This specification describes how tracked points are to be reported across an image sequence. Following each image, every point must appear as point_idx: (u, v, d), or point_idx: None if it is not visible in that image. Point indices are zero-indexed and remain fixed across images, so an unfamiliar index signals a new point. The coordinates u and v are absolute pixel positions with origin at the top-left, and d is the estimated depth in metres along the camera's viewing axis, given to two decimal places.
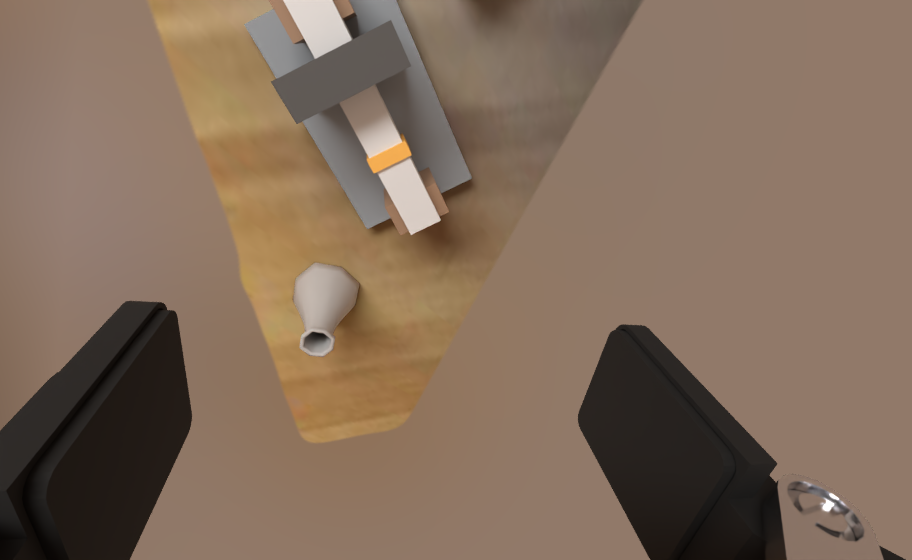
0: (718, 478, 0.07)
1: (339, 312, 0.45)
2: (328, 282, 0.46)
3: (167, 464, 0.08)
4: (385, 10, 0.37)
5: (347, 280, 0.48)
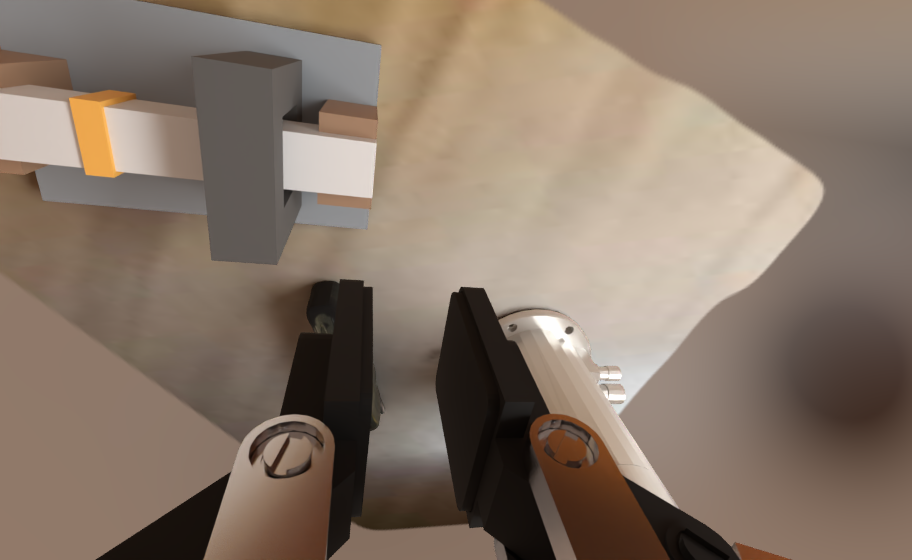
0: (487, 418, 0.07)
1: None
2: None
3: None
4: (315, 209, 0.31)
5: None
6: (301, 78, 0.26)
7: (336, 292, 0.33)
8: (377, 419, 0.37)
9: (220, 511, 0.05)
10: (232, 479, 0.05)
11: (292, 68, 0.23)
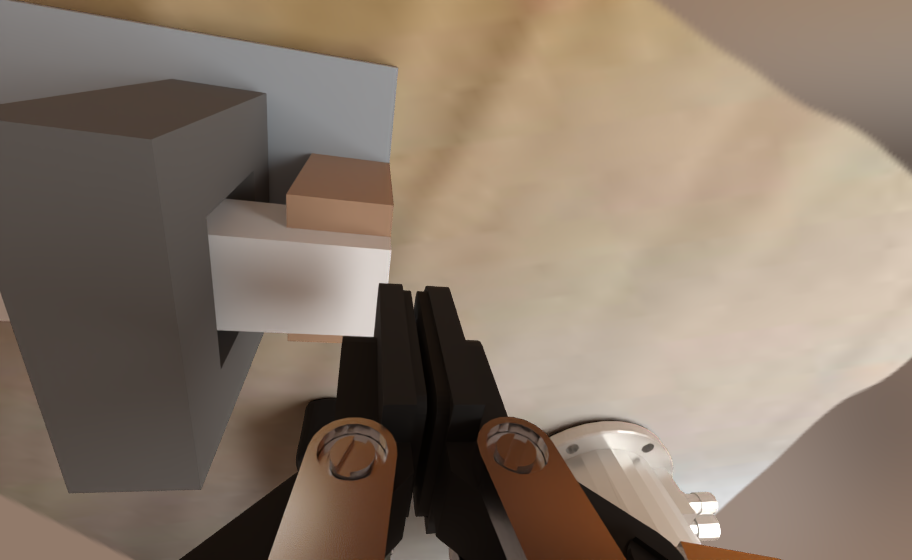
0: (437, 421, 0.07)
1: None
2: None
3: None
4: None
5: None
6: (265, 123, 0.16)
7: None
8: None
9: (288, 505, 0.05)
10: (300, 475, 0.06)
11: (238, 114, 0.12)
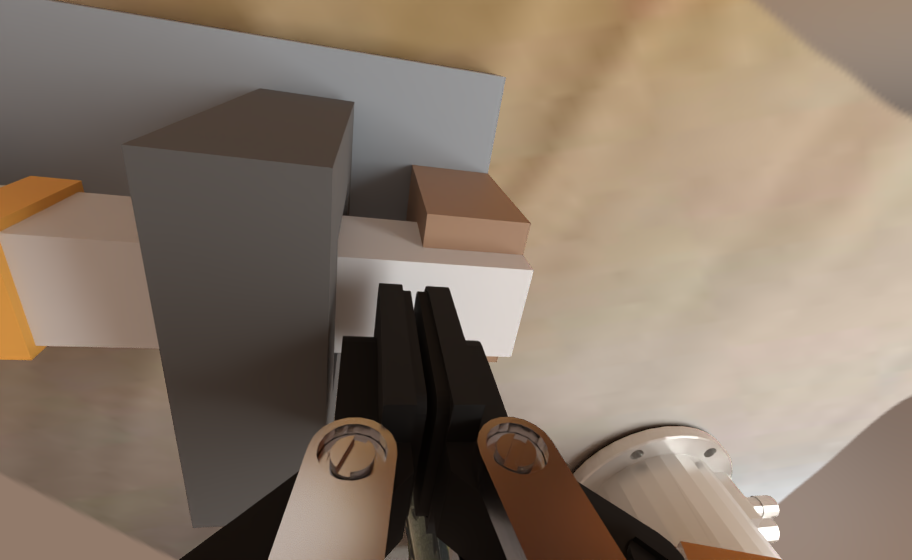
0: (437, 421, 0.07)
1: None
2: None
3: None
4: None
5: None
6: None
7: None
8: None
9: (288, 505, 0.05)
10: (300, 475, 0.06)
11: (348, 128, 0.12)
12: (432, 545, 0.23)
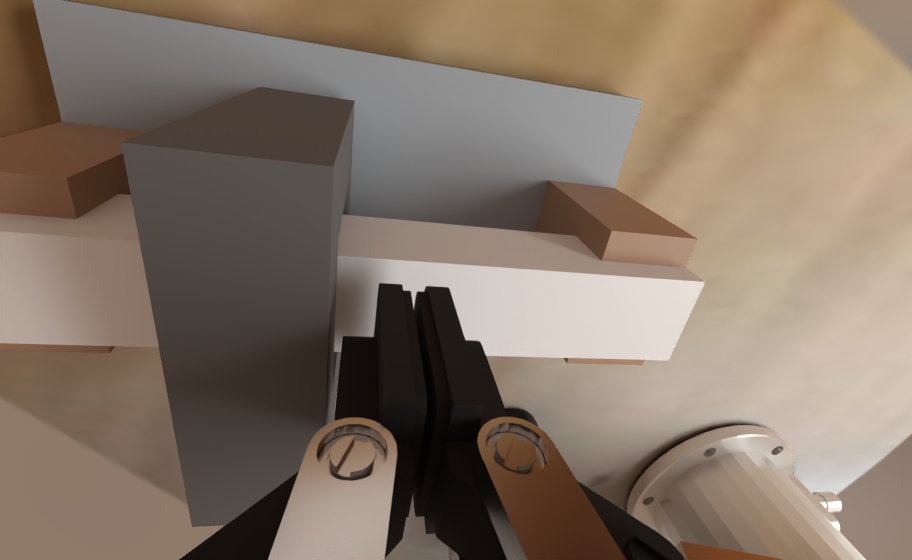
0: (437, 421, 0.07)
1: None
2: None
3: None
4: None
5: None
6: None
7: None
8: None
9: (288, 505, 0.05)
10: (300, 475, 0.06)
11: None
12: None
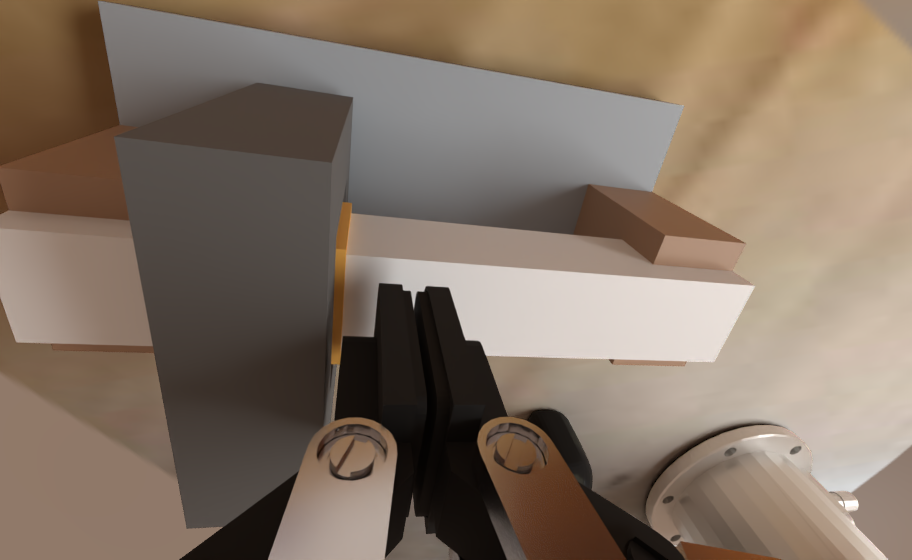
0: (437, 421, 0.07)
1: None
2: None
3: None
4: None
5: None
6: (351, 128, 0.15)
7: (573, 434, 0.25)
8: None
9: (288, 505, 0.05)
10: (301, 475, 0.06)
11: (347, 123, 0.12)
12: None
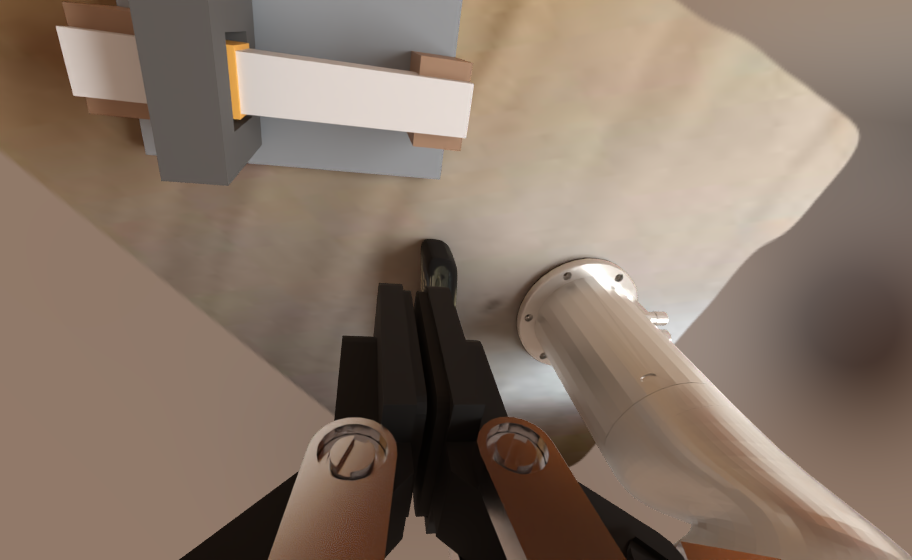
0: (437, 421, 0.07)
1: None
2: None
3: None
4: (394, 160, 0.32)
5: None
6: (251, 7, 0.26)
7: (449, 250, 0.37)
8: None
9: (288, 505, 0.05)
10: (300, 475, 0.06)
11: None
12: None
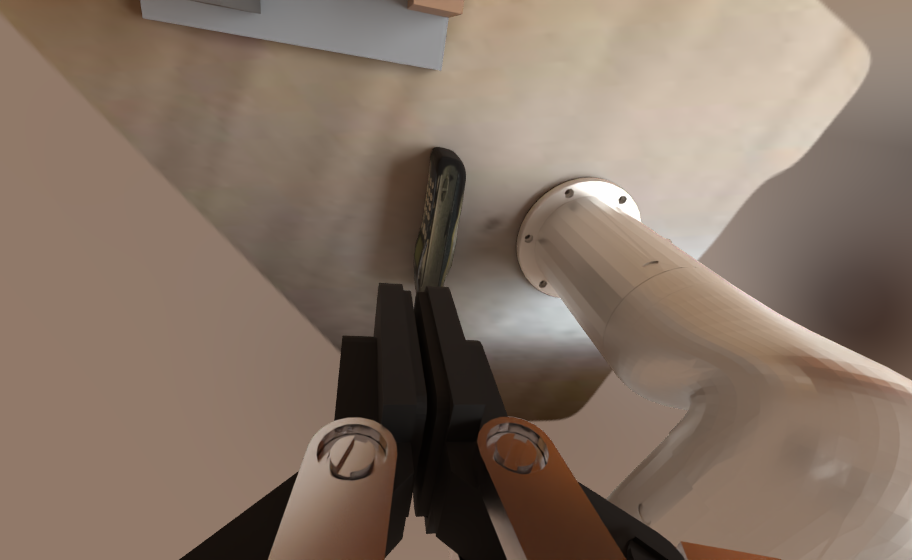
0: (437, 421, 0.07)
1: None
2: None
3: None
4: (395, 44, 0.32)
5: None
6: None
7: (459, 158, 0.36)
8: None
9: (288, 505, 0.05)
10: (300, 475, 0.06)
11: None
12: (445, 229, 0.36)
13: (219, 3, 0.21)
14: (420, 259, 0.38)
